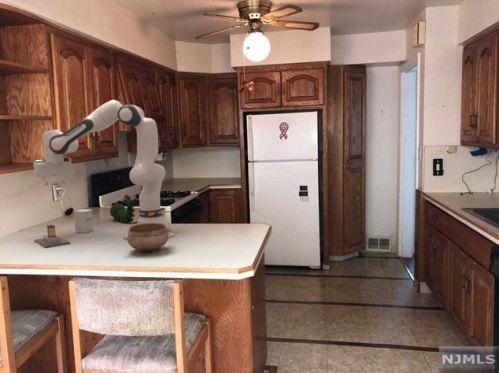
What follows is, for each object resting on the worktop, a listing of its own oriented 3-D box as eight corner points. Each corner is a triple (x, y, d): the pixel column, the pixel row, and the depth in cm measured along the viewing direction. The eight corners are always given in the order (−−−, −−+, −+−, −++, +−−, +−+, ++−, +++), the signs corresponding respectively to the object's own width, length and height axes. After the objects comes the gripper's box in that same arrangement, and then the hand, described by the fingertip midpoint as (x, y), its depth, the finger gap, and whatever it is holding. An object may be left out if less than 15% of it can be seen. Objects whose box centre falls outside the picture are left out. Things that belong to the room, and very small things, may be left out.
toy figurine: (138, 225, 272) (118, 217, 290) (138, 195, 269) (117, 189, 286) (125, 227, 265) (105, 219, 283) (124, 197, 262) (104, 190, 279)
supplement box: (86, 233, 245) (85, 211, 244) (75, 232, 247) (73, 211, 245) (93, 230, 252) (92, 209, 251) (82, 230, 254) (80, 209, 252)
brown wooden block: (56, 241, 224) (54, 226, 223) (51, 241, 222) (49, 226, 221) (53, 239, 227) (51, 224, 226) (48, 240, 226) (46, 225, 225)
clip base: (70, 243, 221) (69, 237, 221) (45, 248, 213) (45, 241, 213) (58, 237, 236) (57, 231, 236) (34, 241, 228) (34, 235, 228)
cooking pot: (135, 260, 188) (133, 233, 186) (114, 253, 201) (113, 227, 200) (182, 249, 205) (180, 224, 203) (160, 242, 218) (159, 219, 217)
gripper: (34, 160, 226) (36, 186, 228) (74, 158, 239) (75, 183, 241) (31, 160, 231) (33, 185, 233) (70, 158, 244) (72, 182, 246)
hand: (55, 184), depth 237 cm, fingers open, 8 cm apart
